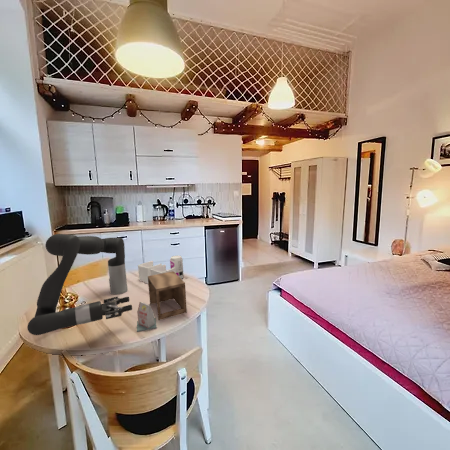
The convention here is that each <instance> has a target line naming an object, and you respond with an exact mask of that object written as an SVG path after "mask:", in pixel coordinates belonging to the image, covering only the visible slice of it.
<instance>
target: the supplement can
mask: <svg viewBox="0 0 450 450" xmlns="http://www.w3.org/2000/svg"><path fill="white" fill-rule="evenodd" d="M183 259H184V258H183V257H182V256H181V255H172V256H171V257H170V259H169V264H170V265H169V266H170V267H169V268H170V269H172V268H174V267H175V270H176V274H177V275H178V276H179V277H180V278H181V279H182V280H183V279H184V263H183Z"/></svg>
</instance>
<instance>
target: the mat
mask: <svg viewBox="0 0 450 450" xmlns="http://www.w3.org/2000/svg"><path fill="white" fill-rule="evenodd" d="M156 319H157V318H156V317H154V322H155V324H154V325H153V326H151V327H149V328H147V327H145V326H142V325H140V324H138V320H137V321H136V332H137V333H139V332H144V331H148V330H156V329H157V328H158V327H157V320H156Z"/></svg>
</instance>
